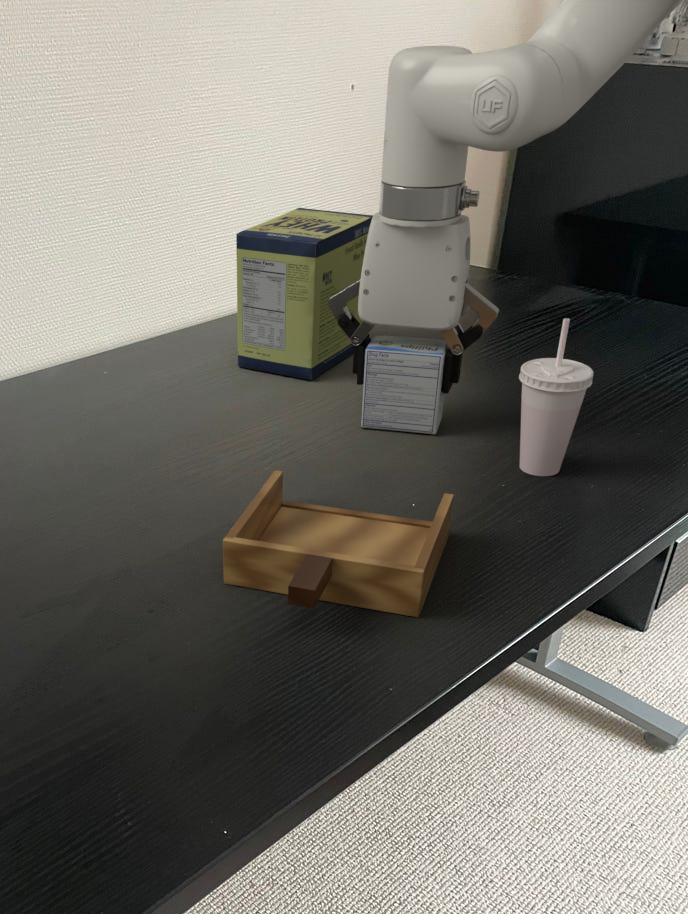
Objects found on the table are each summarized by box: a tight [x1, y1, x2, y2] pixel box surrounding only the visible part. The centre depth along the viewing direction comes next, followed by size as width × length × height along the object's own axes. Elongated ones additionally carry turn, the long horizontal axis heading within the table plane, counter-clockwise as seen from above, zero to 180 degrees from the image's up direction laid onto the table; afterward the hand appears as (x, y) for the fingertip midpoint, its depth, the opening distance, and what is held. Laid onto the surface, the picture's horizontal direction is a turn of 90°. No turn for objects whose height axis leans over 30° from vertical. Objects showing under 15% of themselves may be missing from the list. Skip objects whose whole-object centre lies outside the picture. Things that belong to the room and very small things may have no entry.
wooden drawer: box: [222, 470, 455, 618], centre depth 78 cm, size 16×18×4 cm
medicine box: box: [360, 334, 449, 435], centre depth 101 cm, size 8×4×9 cm, turn 71°
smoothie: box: [518, 317, 594, 477], centre depth 90 cm, size 6×6×14 cm
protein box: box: [235, 207, 374, 381], centre depth 118 cm, size 10×16×16 cm
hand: (404, 383), depth 101 cm, fingers closed on medicine box, 8 cm apart
